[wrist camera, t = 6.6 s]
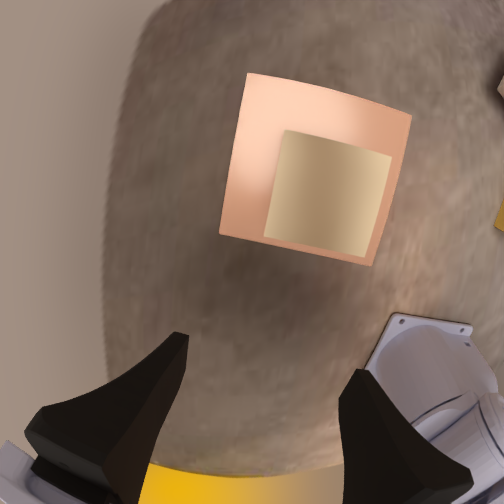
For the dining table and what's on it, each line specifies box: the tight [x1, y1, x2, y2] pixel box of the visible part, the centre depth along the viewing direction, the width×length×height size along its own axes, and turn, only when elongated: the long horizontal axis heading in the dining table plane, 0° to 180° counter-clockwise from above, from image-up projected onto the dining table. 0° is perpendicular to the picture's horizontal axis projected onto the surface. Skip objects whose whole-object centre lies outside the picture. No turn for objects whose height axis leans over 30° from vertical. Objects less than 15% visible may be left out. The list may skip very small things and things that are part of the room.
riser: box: [219, 73, 412, 266], centre depth 17 cm, size 10×10×2 cm
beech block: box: [264, 129, 392, 258], centre depth 14 cm, size 4×4×6 cm
